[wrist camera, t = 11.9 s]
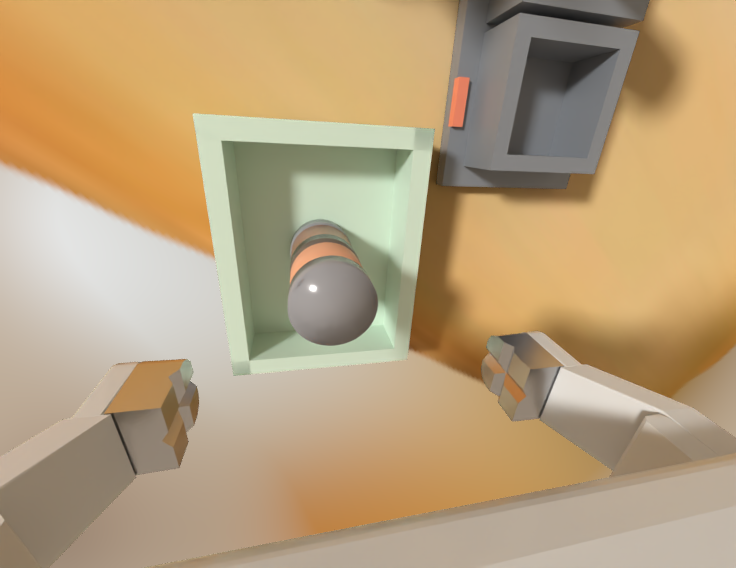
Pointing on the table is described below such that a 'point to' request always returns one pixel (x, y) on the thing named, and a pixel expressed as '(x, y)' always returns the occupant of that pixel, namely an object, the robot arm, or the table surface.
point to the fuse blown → (328, 286)
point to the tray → (305, 203)
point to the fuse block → (533, 89)
